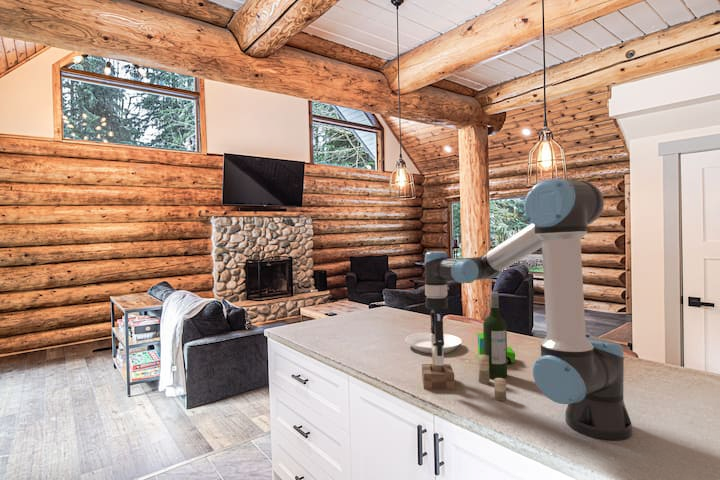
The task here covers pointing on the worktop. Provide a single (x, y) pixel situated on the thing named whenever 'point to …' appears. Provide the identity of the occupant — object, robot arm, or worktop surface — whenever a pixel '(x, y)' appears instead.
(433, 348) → the long dowel
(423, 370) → the hole block
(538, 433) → the worktop surface
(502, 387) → the short dowel
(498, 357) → the wine bottle
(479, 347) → the toy car
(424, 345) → the white plate
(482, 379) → the medium dowel
